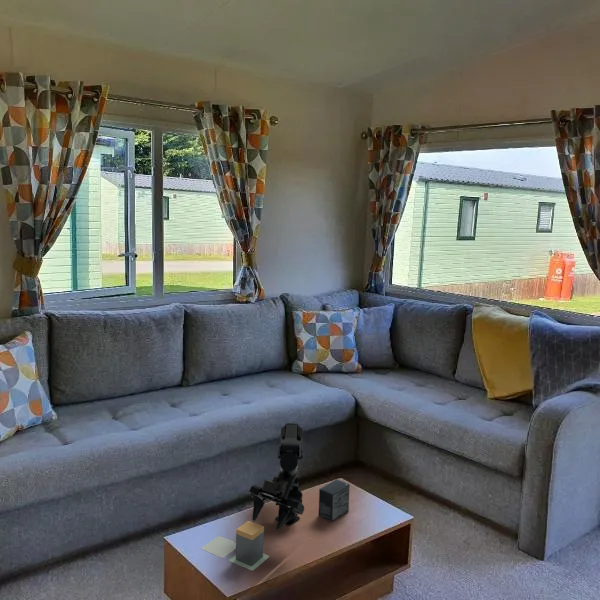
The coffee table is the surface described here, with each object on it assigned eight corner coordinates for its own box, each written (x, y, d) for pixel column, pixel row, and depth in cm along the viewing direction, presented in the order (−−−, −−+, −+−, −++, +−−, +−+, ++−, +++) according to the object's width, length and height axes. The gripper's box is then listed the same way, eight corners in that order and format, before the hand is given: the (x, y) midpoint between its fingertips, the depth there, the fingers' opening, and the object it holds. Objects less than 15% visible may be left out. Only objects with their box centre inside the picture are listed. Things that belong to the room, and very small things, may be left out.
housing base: (247, 550, 183) (247, 525, 182) (263, 556, 180) (263, 531, 179) (235, 559, 178) (236, 533, 177) (251, 566, 175) (252, 540, 174)
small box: (334, 505, 216) (336, 478, 214) (349, 511, 212) (350, 484, 210) (317, 515, 208) (318, 488, 206) (332, 522, 204) (333, 494, 202)
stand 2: (246, 549, 185) (246, 546, 185) (269, 559, 181) (269, 556, 181) (228, 563, 178) (228, 560, 178) (252, 573, 173) (252, 570, 173)
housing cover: (247, 529, 182) (248, 520, 182) (263, 536, 179) (264, 526, 179) (236, 538, 177) (236, 529, 177) (252, 545, 174) (252, 535, 174)
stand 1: (218, 538, 191) (218, 535, 191) (240, 547, 186) (241, 544, 186) (200, 551, 183) (200, 548, 183) (223, 561, 179) (223, 558, 179)
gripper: (252, 461, 192) (230, 506, 184) (301, 477, 182) (280, 525, 175) (265, 475, 200) (245, 519, 192) (312, 491, 190) (293, 537, 183)
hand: (265, 525), depth 185 cm, fingers open, 9 cm apart
